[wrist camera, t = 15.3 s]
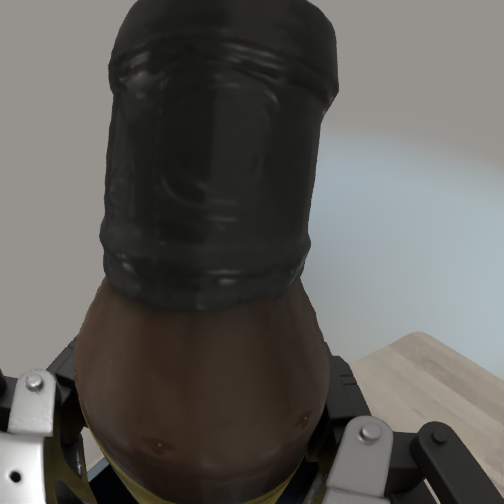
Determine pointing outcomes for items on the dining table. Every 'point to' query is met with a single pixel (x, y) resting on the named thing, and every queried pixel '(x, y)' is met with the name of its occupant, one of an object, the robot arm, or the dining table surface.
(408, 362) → the dining table surface
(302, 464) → the black open storage bin
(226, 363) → the sauce bottle
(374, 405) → the dining table surface
